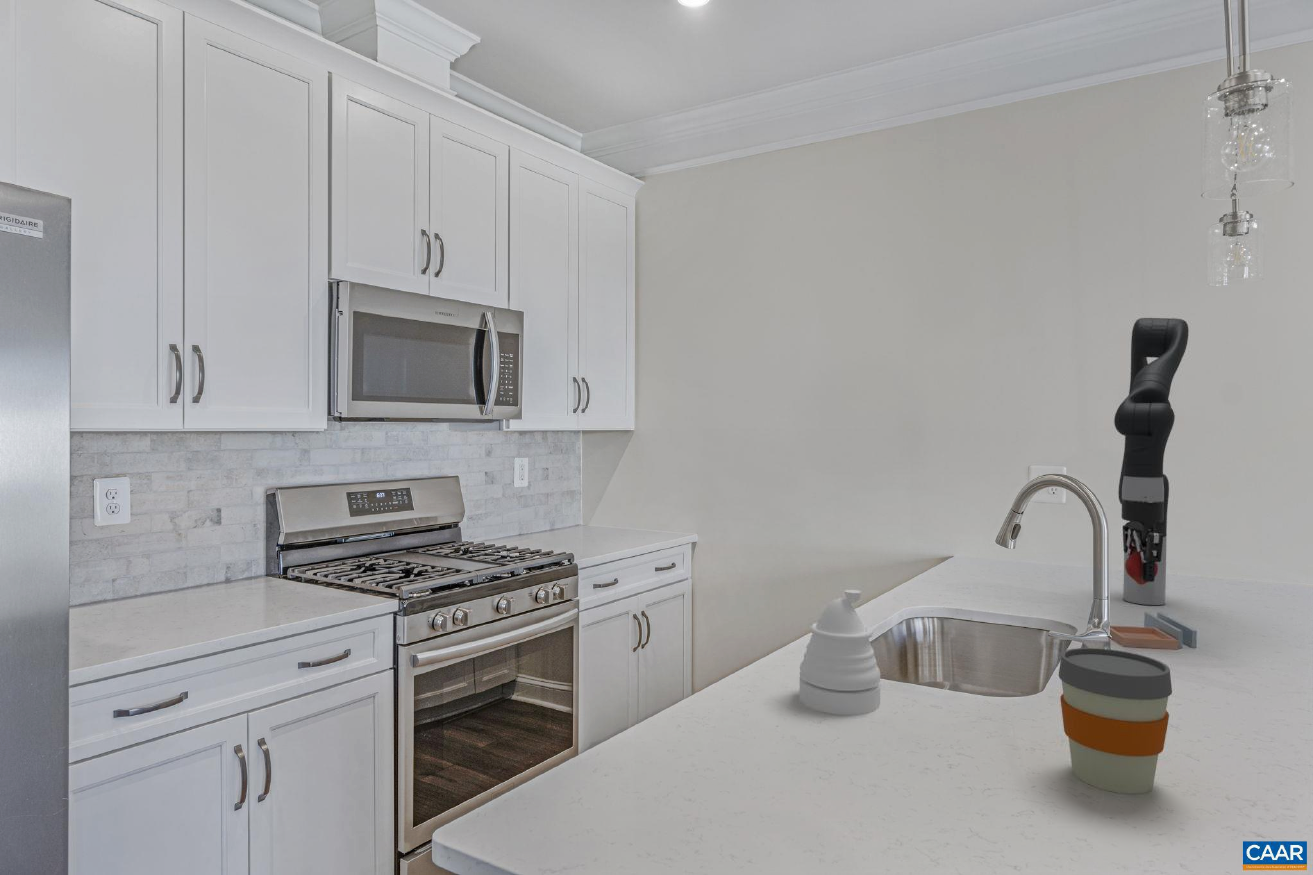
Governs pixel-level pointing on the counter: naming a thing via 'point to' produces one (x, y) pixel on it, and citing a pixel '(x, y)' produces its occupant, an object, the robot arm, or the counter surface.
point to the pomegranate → (1136, 567)
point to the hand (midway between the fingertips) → (1141, 578)
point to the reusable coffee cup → (1114, 716)
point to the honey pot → (840, 662)
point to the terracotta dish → (1142, 637)
